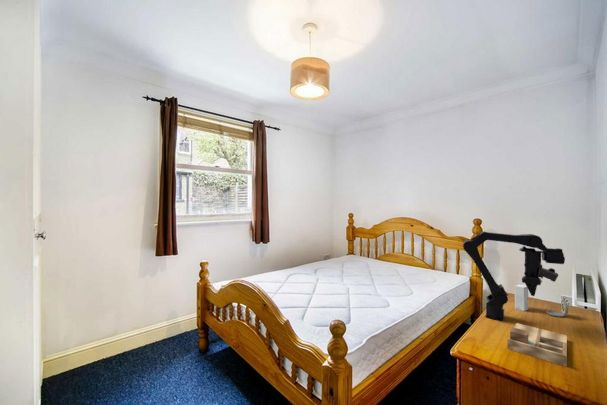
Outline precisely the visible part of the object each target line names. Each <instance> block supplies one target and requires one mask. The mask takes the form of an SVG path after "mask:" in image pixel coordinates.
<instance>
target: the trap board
mask: <svg viewBox="0 0 607 405" xmlns="http://www.w3.org/2000/svg"><path fill="white" fill-rule="evenodd" d="M514 328H517V329H521V330H525V331H528V344H525V343H522V342H518V341H515V340H511V339H510V338H507V350H509V351H514V352H517V353H521V354H524V355H527V356H530V357H533V358H536V359H540V360H543V361H546V362H550V363H553V364H556V365H561V366H562V367H563V366H564V367H567V366H568V363H567V362H568V359H567V358H568V357H567V356H568V355H567V354H568V353H567V352H568V351H567V350H568V348H567V347H568V346H567V345H568V342H567V341H568V338H567V336H568V335H566V334H562V333H560V332H559V333H557V332H553V331H549V330H546V329H543V328H542V329H541V328H538V327H534V326H529V325H527V324H526V325H525V324H521V323H519V322H517V323H515V325H514ZM567 368H568V367H567Z"/></svg>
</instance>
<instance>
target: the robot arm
mask: <svg viewBox="0 0 607 405" xmlns="http://www.w3.org/2000/svg"><path fill="white" fill-rule="evenodd" d="M486 241H494V242H501V243H502V242H504V243H512V244H517V245H521V246H522V247H521V248H519V251H520V252H523V253H524V264H523V265H524V273H523V274H524V275H523V276H522V277H521V283H523V284H524V285H525V286H527V288H528V293H529V294H530V296H531V297H535V295H536V292H537V289H538V288H537V287H538V286H541V284H542V282H543V280H542V279H544V278H546V279H548V280H549V281H550V282H553V283H554V282H556V281H557V279H558V277H559V273H557V272H556V270H555V269H554V268H552V267H549V268H544V267H543V265H542V261H544V262H545V264H556V265H564V264H565V260H566V257H565V255H564V252H563V249H562V248H560V247H559V248H558V247H557V248H551V247H550V248H549V247H547V246H546V245H545V244H544V243H543V239H542V238H541V237H540V236H538V235H536V234H533V233H527V234H526V233H525V234H523V233H522V234H507V233H497V232H488V231H481V232H479V233H478V234H477V235H475V236H474V237H472V238H470V239H466V240H464V241H463V243H462V248H463V250H464V251H465V252H466V254H467V255H468V256H469V257H470V258H471V259H472V261H473V263H474V264H475V266H476V267H477V269H478V271H479V272H480V274H481V276H482V277H483V279H484V281H485V282H486V285H487V286H488V289H489V292H490V294H489V295H487V296H486V297H485V298H486V300H487V302H486V304H485V311H486V312H485V313H486V314H485V316H484V317H485V318H487V319H491V320H495V321H499V322H502V321H503V320H504V319H505V308H504V305H505V304H507V303H508V301H509V297H508V296H509V294H508V292H507V291H506V290H505V288H504V286H503V284H502V283H501V284H498V283H497V281H495V279H494V277H493V275H492V273H491V272H490V270H489V268H488V267H487V265H486V264H485V263H484V260H483V259H482V256H481V254H480V252H479V249H478V247H479V246H481V245H482V244H483V243H484V242H486ZM536 249H537V250H536Z"/></svg>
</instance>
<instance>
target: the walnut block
mask: <svg viewBox="0 0 607 405" xmlns="http://www.w3.org/2000/svg"><path fill="white" fill-rule="evenodd" d="M514 327H515V326H514ZM514 327H513V326H512V327H511V329H510V331H509V339H511V340H515V341H518V342H522V343H525V344H528V331H525V330H521V329H517V328H514Z"/></svg>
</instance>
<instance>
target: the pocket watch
mask: <svg viewBox="0 0 607 405" xmlns="http://www.w3.org/2000/svg"><path fill="white" fill-rule="evenodd" d="M566 298H567V297H566V295H564V296H563V297H562V300H561V302H560V310H561V312H559V311H557V310H552V309H550V310H549V309H548V310H545V313H546V314H547V315H550V316H553V317H558V318H559V317H560V318H562V317H563V318H564V317H565V316H567V315H569V306H568V303H567V301H566Z"/></svg>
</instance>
